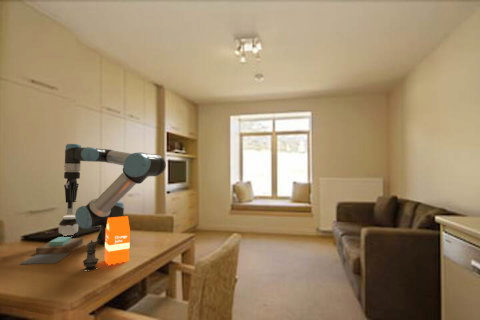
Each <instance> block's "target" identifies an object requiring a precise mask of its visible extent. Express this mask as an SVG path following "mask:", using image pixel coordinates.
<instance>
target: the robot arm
mask: <svg viewBox="0 0 480 320" xmlns="http://www.w3.org/2000/svg"><path fill="white" fill-rule="evenodd" d="M81 162H94V163H95V162H96V163H97V162H99V163H107V164H114V165H118V166H122V172H121V174H120V175H118V177H117V178H116V179H115V180H114V181H112V183H111V184H110V185H109V186H108V187H107V188H106V189H105V190H104V191H103V192H102V193H101V194H100V196H98V197H97V198H94V199H91V200H90V201H89V202H88V203H87V204H86V205H81V206H79V207H77V209H76V211H75V203H76V202H77V195H78V190H79V189H78V188H79V184H80V183H78V180H79V179H80V178H81V172H80V171H81ZM166 164H167V163H166V160H165V159H164V157H162V155H160V154H157V153H156V154H155V153H145V152H140V151H139V152H133V153H132V152H131V153H130V152H124V151H118V150H113V149H109V148H108V149H106V148H95V147H92V146H91V147H89V146H87V147H82V145H81V144H79V143H67V144H66V145H65V149H64V165H63V167H64V173H63V177H64V178H63V179H67V180H66V184H64V194H65V195H64V196H65V203H67V209H66V211H67V213H66V214H67V215H74V213H75V215H74V216H75V219H76V222H77V224H78V228H79V227H80V228H81V229H91V228H96V227H100V228H99V231H98V235H97V238H96V243H97V244H99V245H105V233H106V225H107V221H108V218H111V217H122V216H124V209H125V207H124V202H123V201H120V200H121V199H123V198H124V197H125V195H127V193H129V192H130V190H132V189H133V188H134V187H135V186H136V185H139V184H142V183H143V182H144V181H145V180H146V179H147V178H148V177H157V176H161V175H162V174H164V172H165V170H166V167H167V165H166Z"/></svg>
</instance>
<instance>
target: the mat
mask: <svg viewBox="0 0 480 320" xmlns="http://www.w3.org/2000/svg"><path fill="white" fill-rule="evenodd" d="M70 254H71V252H70V253H45V254H37V255H36V254H35V255H33V256H32V257H30V258H28V259H26V260H25V261H22V262H21V263H20V265H22V266H23V265H45V264H46V265H48V264H57V263H59V262H60V261H62V260H63V259H64V258H66V257H68V256H69V255H70Z"/></svg>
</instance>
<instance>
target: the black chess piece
mask: <svg viewBox="0 0 480 320" xmlns="http://www.w3.org/2000/svg"><path fill="white" fill-rule="evenodd" d="M96 252H97V250H96V243H95V242H93V240H92V239H91V240H90V242H88V243H87V249H86V257H85V258H86V259H84V260H83V261H82V263H83V266H84V268H83V270H87V271H86V272H89V271H88V270H94V269H96V268H97V264H98V263H99V258H97V257H96ZM96 270H97V269H96ZM94 271H95V270H94Z"/></svg>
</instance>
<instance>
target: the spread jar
mask: <svg viewBox="0 0 480 320" xmlns="http://www.w3.org/2000/svg"><path fill="white" fill-rule="evenodd" d="M78 232H79V226H78V224H77V222H76V218H75V215H74V214H68V215H64V216H62V220H60V221H59V223H58V234H59V235H60V234H61V235H63V236H62V237H64V236H67V235H73V236H75V235H76V234H77V233H78ZM75 233H76V234H75ZM74 234H75V235H74ZM61 235H60V236H61Z"/></svg>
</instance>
